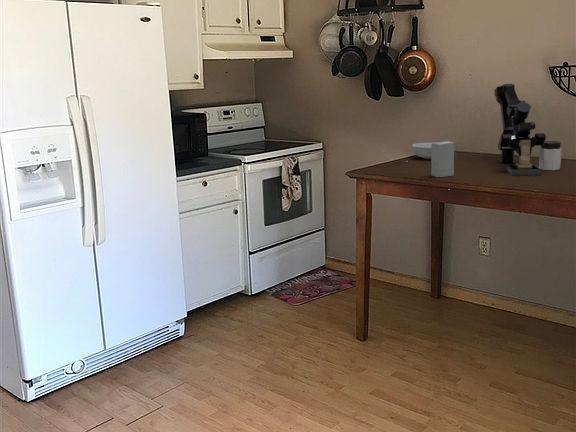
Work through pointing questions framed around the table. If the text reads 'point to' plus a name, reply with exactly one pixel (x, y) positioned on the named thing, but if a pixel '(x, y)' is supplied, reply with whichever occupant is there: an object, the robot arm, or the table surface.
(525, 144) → the tan square peg
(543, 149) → the jar
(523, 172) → the gray square tray
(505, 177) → the table surface
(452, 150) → the skincare box
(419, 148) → the serving bowl
